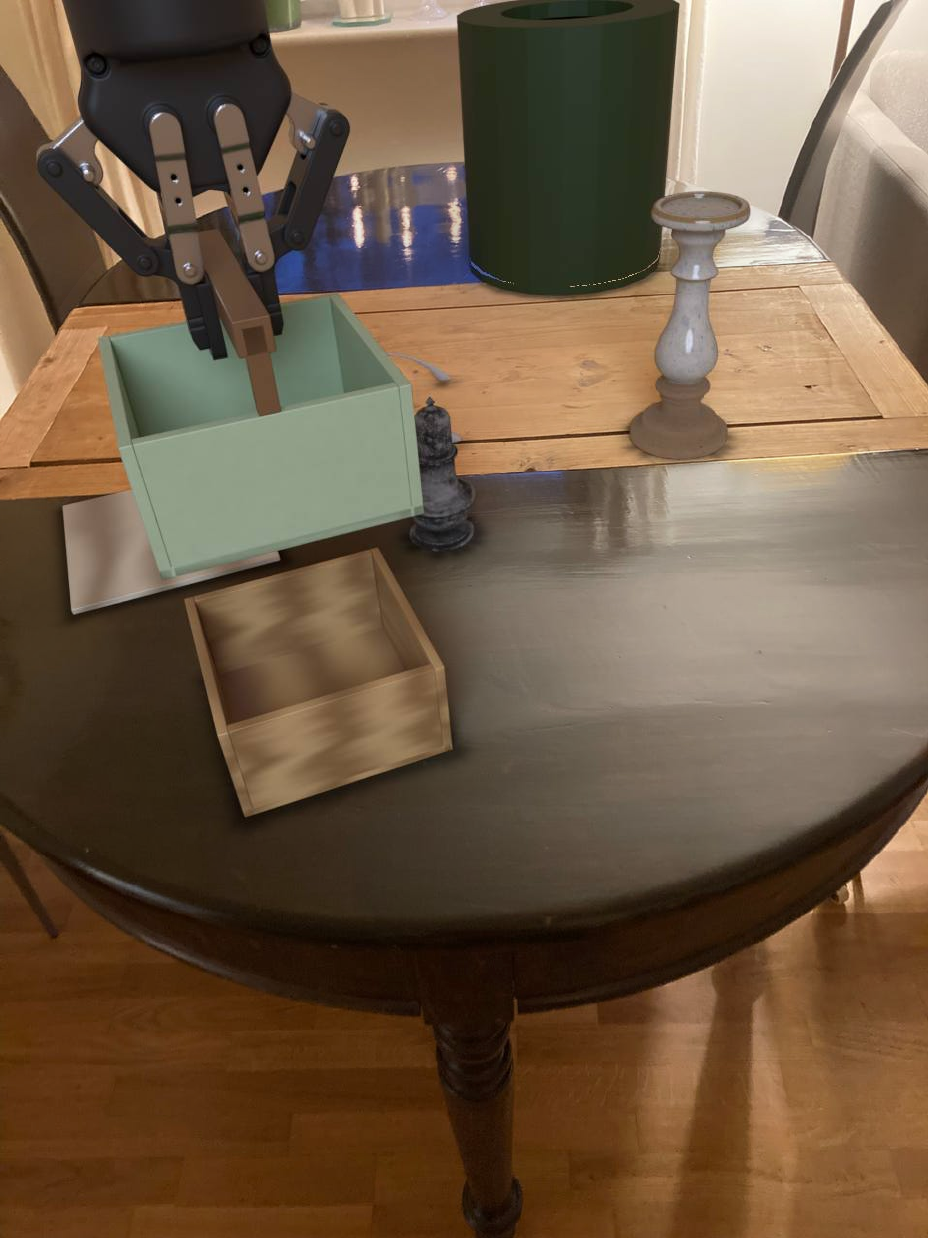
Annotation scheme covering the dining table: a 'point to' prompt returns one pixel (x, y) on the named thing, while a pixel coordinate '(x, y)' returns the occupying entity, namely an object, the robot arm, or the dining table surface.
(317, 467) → the top basket
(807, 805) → the dining table surface
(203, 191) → the robot arm
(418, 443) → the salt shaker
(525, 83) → the flower pot
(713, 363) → the candle holder
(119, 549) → the placemat
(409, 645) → the brown wooden open box
